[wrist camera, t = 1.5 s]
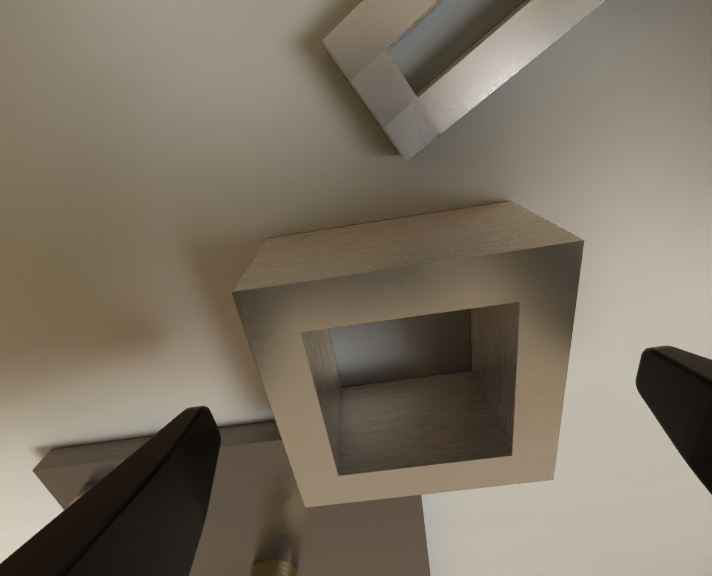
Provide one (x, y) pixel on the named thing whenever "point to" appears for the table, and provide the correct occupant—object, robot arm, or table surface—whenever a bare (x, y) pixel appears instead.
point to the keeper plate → (266, 513)
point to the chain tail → (458, 81)
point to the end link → (424, 394)
